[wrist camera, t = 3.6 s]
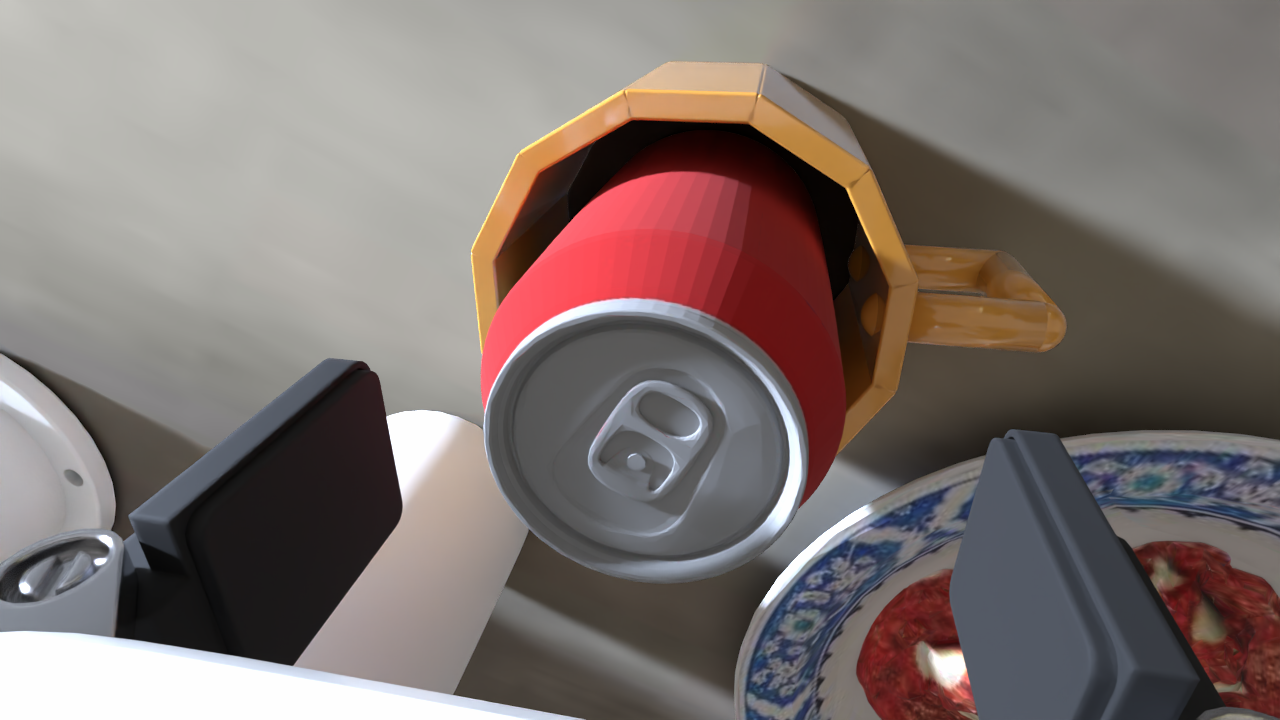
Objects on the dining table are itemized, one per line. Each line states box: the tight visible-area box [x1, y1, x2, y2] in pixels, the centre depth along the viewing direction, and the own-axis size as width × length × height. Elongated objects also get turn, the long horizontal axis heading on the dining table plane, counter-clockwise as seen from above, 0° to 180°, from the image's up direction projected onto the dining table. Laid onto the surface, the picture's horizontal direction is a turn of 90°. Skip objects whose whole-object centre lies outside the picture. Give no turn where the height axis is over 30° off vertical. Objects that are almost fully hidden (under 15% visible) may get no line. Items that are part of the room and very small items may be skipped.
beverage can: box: [481, 130, 846, 583], centre depth 17 cm, size 7×7×12 cm
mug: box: [471, 61, 1067, 457], centre depth 19 cm, size 14×10×6 cm
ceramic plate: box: [734, 430, 1280, 720], centre depth 26 cm, size 26×26×3 cm
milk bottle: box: [294, 410, 529, 695], centre depth 20 cm, size 8×8×20 cm
